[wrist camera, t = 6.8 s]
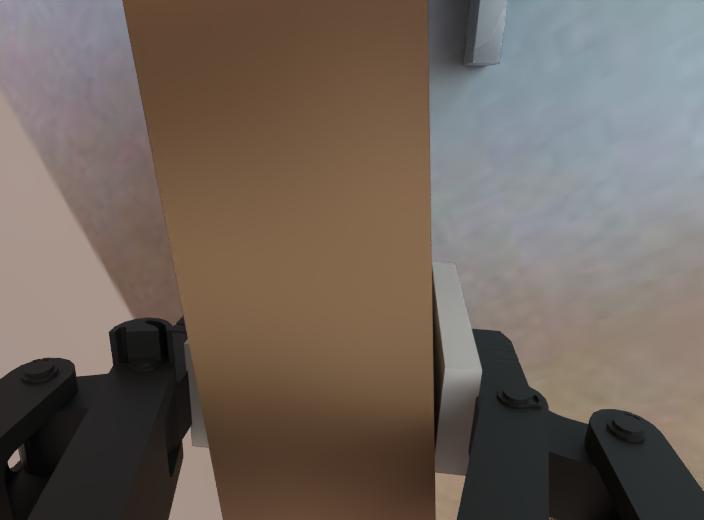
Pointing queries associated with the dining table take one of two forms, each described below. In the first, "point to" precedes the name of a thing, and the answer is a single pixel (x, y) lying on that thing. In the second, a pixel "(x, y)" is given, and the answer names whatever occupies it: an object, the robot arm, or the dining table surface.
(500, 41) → the slat support bracket
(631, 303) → the dining table surface
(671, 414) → the dining table surface
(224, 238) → the walnut slat
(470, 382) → the robot arm
